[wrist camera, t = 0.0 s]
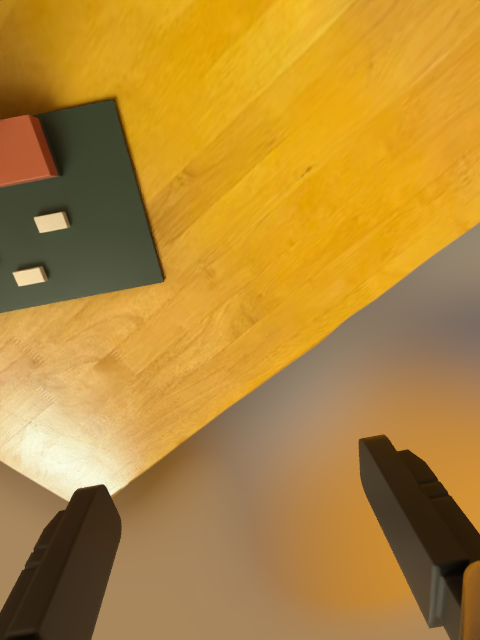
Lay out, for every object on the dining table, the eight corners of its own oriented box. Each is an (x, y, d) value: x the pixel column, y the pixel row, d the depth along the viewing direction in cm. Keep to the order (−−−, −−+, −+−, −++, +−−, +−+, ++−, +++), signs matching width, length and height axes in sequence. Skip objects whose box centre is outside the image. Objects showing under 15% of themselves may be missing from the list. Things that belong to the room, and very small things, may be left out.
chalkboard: (-170, 156, 31) (-174, 156, 31) (114, 100, 31) (113, 99, 30) (-70, 325, 38) (-73, 326, 37) (164, 281, 37) (163, 282, 37)
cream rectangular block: (16, 270, 36) (11, 272, 35) (42, 265, 36) (38, 267, 35) (22, 284, 36) (18, 286, 35) (48, 279, 36) (44, 281, 35)
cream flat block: (37, 216, 34) (33, 217, 33) (65, 211, 34) (61, 211, 33) (43, 232, 34) (39, 233, 33) (70, 226, 34) (67, 227, 33)
